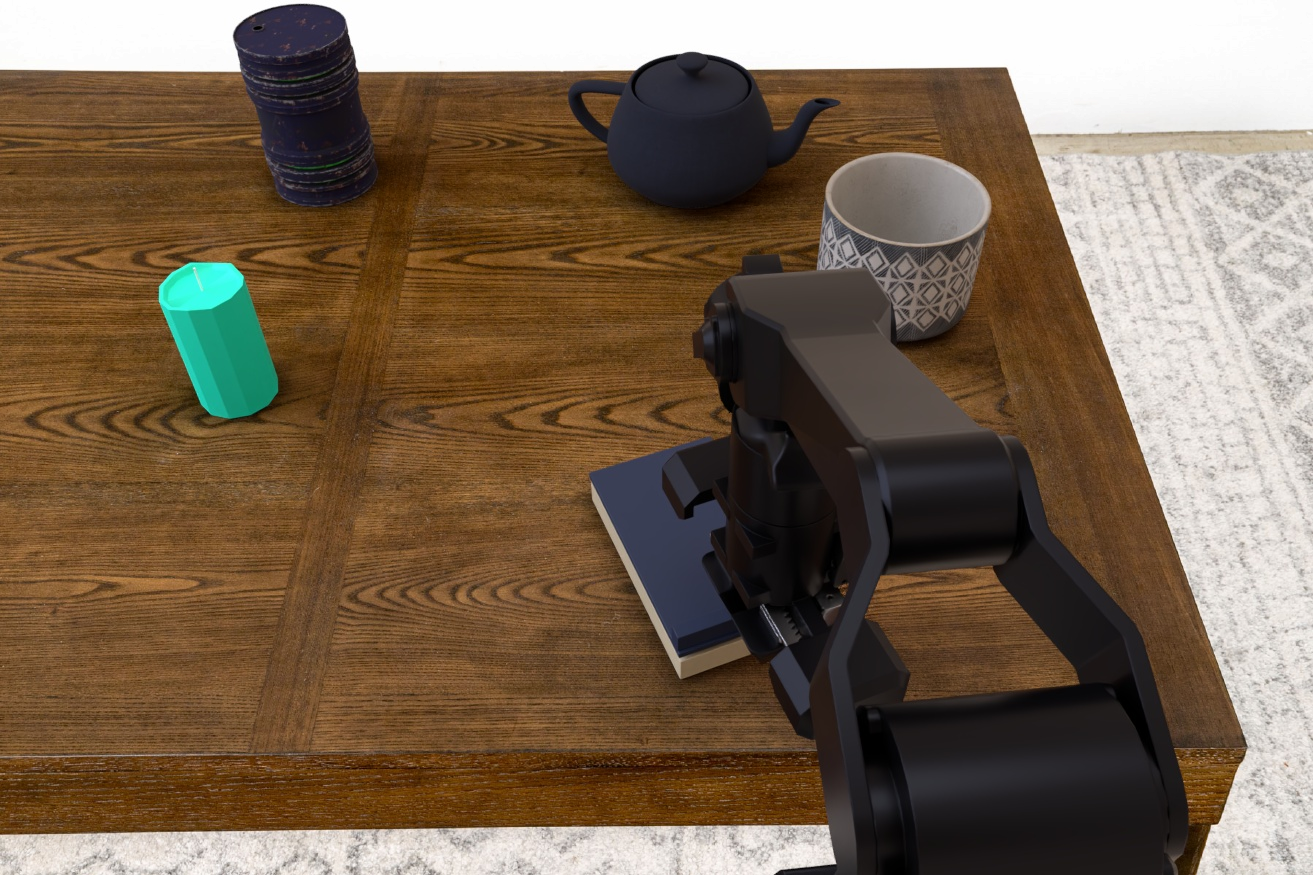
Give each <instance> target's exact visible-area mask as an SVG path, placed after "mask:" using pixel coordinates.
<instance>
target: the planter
mask: <svg viewBox="0 0 1313 875" xmlns="http://www.w3.org/2000/svg"><path fill="white" fill-rule="evenodd" d="M991 212H992V200H991V196H990V194H989V192H988V190H987V188H986V187H985V185H984V183H982V182H981V181H980V180H979V179H978V178H977V177H976V176H975V175H973V174H972V173H971V172H970V171H968V170H966V169H965V168H963V167H961V166H959V165H957V164H955V163H952V162H951V161H948V160H945V159H942V158H939V157H935V156H931V155H928V154H922V153H915V152H903V151H901V152H900V151H898V152H896V151H895V152H893V151H892V152H880V153H874V154H870V155H864V156H861V157H858V158H856V159H853V160H850V161H849V162H847V163H845V164H843V165H842V166H840V167H839V168H838V169H837V170H836V171H835V172H834V173H833V174H831V177H830V178H829V179H828V181H827V183H826V186H825V193H824V203H823V210H822V218H821V220H822V221H821V226H820V227H821V228H820V236H819V237H820V238H819V246H818V254H817V255H818V256H817V264H816V270H830V269H844V268H859V267H862V268H867V269H868V270H869V271H870V272H871V273H872V274H873V276H874V277H875V278H876V280H877V281H878V283H879V284H880V286H881V287H882V289H883V290H884V291H885V292H887V293H888V294H889V297H890V299H891V301H892V304H893V308H894V312H895V319H896V329H897V343H898V342H900V343H901V342H918V341H923V340H927V339H931V338H934V337H937V336H939V335H941V334H944V333H945V332H948V331H949V330H951V329H952V328H953V327H955V326H956V325H957V324H958V323H959V322H960V321H961V320H962V318H963V317H964V316H965V315H966V313H967V311H968V308H969V305H970V301H971V297H972V292H973V288H974V285H975V279H976V276H977V271H978V268H979V263H980V259H981V255H982V250H983V246H984V242H985V238H986V235H987V234H986V233H987V230H988V226H989V221H990V217H991Z"/></svg>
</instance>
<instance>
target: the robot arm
mask: <svg viewBox="0 0 1313 875" xmlns="http://www.w3.org/2000/svg"><path fill="white" fill-rule="evenodd" d="M702 312H703V313H702V314H703V323H702V324H701V326H700V327H699V328H697V330H696V331H694V332H692V333H691V339H692V354H693V359H701V360H702V361H703V362H704V364H705V368H706V370H707V372H708V373H709V374H710V375H711V376H712V378H713V379H714V380H715V381H716V384H717V389H718V395H719V399H720V401H721V403H722V405H723V407H724V409H725V410H727V412H728V413H730V414H731V420H730V435H726V436H723V437H722V436H721V437H719V438H716V439H712V440H713V441H709V442H706V443H703V444H699V445H696V446H693V447H690V448H686V449H683V450H680V451H676V452H675V453H674V454H673V456H672V457H671V458H670V459H669V460H668V461H667V462H666V463H665V464H664V466H663V467H662V489H663V491H664V493H665V495H666V496H667V498H668V500H669V502H670V504H671V505H672V507H673V509H674V511H675V513H676V515H677V516H678V518H679V519H682V520H686V519H689V518H692V517H694V506H697V505H700V504H703V503H706V502H709V501H712V500H717V502H718V503H719V505H720V507H721V509H722V510H723V512H724V514H725V515H726V526H724V527H721V528H718V529H715V530H712V531H711V533H710V543H711V544H712V546H713V548H714V551H711V552H708V553H706V554H705V555H704V556H703V557H702V565H703V567H704V569H705V571H706V573H707V575H708V577H709V578H710V580H711V582H712V584H713V586H714V588H715V589H716V591H717V593H718V595H719V597H720V598H721V600H722V602H723V603H724V605H725V607H726V608H727V610H728V611H729V613H730V614H731V619H732V621H733V623H734V624H735V626H736V628H737V630H738V632H739V634H740V635H741V637H742V639H743V641H744V643H745V645H746V646H747V648H748V650H749V652H750V653H751V654H750V655H751V656H752V657H754V658H756V660H757V661H758V663H759V664H760V665H765V664H768V663H769V664H768V671H767V673H768V677H769V680H770V684H771V687H772V691H773V694H774V696H775V697H776V700H777V701H778V703H779V705H780V707H781V709H782V711H783V712H784V714H785V716H786V718H787V719H788V720H787V721H789V724H790V725H791V727H792V729H793V731H794V732H795V734H796V736H799V737H801V738H804V739H807V740H810V741H814V742H815V749H816V753H817V754H816V755H817V760H818V766H819V774H820V779H821V786H822V793H823V800H824V806H825V812H826V817H827V818H826V819H827V824H828V831H829V836H830V842H831V845H832V846H831V847H832V851H833V857H834V861H835V863H832V864H822V865H821V864H820V865H812V866H811V865H810V866H803V867H793V868H784V869H783V868H782V869H779V870H778V871H776V872H775V873H774V874H773V875H1179V870H1178V866H1177V864H1176V863H1175V861H1177V859H1178V858H1180V857H1181V856H1183V855H1184V852H1185V849H1186V846H1187V843H1188V839H1189V834H1190V833H1189V832H1190V823H1189V822H1190V821H1189V820H1190V819H1189V818H1190V808H1189V804H1188V798H1187V792H1186V788H1185V783H1184V777H1183V774H1182V770H1181V768H1180V764H1179V761H1178V757H1177V754H1176V750H1175V746H1174V743H1173V739H1172V735H1171V732H1170V729H1169V725H1168V721H1167V718H1166V714H1165V711H1164V707H1163V703H1162V701H1161V697H1160V693H1159V690H1158V687H1157V683H1156V679H1155V676H1154V672H1153V669H1152V665H1151V662H1150V658H1149V655H1148V650H1147V647H1146V644H1145V640H1144V637H1143V635H1142V634H1141V631H1140V630H1139V628H1138V626H1137V624H1136V623H1135V622H1134V621H1133V620H1132V618H1131V617H1130V616H1129V615H1128V614H1127V613H1126V612H1125V611H1124V610H1123V609H1122V607H1121V606H1120V605H1119V604H1118V603H1117V602H1116V601H1115V600H1114V598H1112V596H1111V595H1110V594H1109V593H1108V592H1107V591H1106V590H1105V588H1104V587H1103V586H1102V585H1101V584H1100V583H1099V582H1098V581H1097V580H1096V579H1095V577H1094V576H1092V574H1091V573H1090V572H1089V571H1088V570H1087V569H1086V568H1085V567H1084V566H1083V564H1082V563H1081V562H1080V561H1079V560H1078V559H1077V558H1076V557H1075V555H1073V554H1072V552H1071V551H1070V550H1069V549H1068V548H1067V547H1066V546H1065V545H1064V544H1063V542H1062V541H1061V540H1060V539H1059V538H1058V537H1057V536H1056V535H1055V533H1054V532H1053V531H1052V530H1051V528H1050V526H1049V522H1048V518H1047V514H1046V510H1045V506H1044V503H1043V498H1042V495H1041V490H1040V487H1039V484H1038V480H1037V476H1036V471H1035V468H1034V466H1033V463H1032V460H1031V458H1030V455H1029V452H1028V450H1027V448H1026V447H1025V446H1024V444H1023V442H1022V441H1021V440H1020V438H1019V437H1017V436H1014V435H1012V434H1009V433H1008V434H998V433H997V432H996V431H995V430H993V429H991V428H990V427H983V426H980V425H979V424H978V423H977V422H976V421H975V420H974V419H973V418H972V417H971V416H970V415H968V413H966V412H965V411H964V410H963V409H962V407H960V406H959V405H958V403H956V402H955V401H954V400H953V399H952V398H951V397H949V396H948V395H947V394H946V393H945V392H944V391H943V390H942V389H941V388H940V387H939V386H938V385H937V384H936V383H935V382H933V381H932V380H931V379H930V378H929V377H928V376H927V375H926V374H925V373H924V372H923V371H921V369H920V368H919V367H917V365H916V364H914V363H913V362H912V361H911V359H909V358H908V357H907V356H906V355H905V354H904V353H903V352H902V351H901V350H900V349H899V348H898V342H897V329H896V319H895V312H894V308H893V304H892V301H891V299H890V297H889V294H888V293H887V292H885V291H884V290H883V289H882V287H881V286H880V284H879V283H878V281H877V280H876V278H875V277H874V276H873V274H872V273H871V272H870V271H869V270H868V269H867V268H862V267H859V268H844V269H830V270H817V269H816V270H803V271H791V272H789V271H788V272H785V271H784V267H783V263H782V259H781V257H780V253H766V254H765V253H764V254H754V255H743V256H742V257H741V271H740V272H738V273H736V274H734V275H732V276H729V277H728V278H726V279H725V280H724V281H723V282H721V283H720V284H718V285H717V286H716V287H715V289H714V290H713V291H712V292H711V294H710V295H709V296H708V298H707V301H706V302H705V303H704V305H703V311H702ZM984 567H985V568H986V567H992V570H993V573H994V574H995V576H996V578H997V580H998V582H999V583H1000V584H1001V586H1003V588H1004V589H1005V590H1006V591H1007V593H1009V595H1010V596H1011V597H1012V598H1013V600H1015V602H1016V603H1017V604H1018V605H1019V606H1020V608H1022V610H1023V611H1024V612H1025V613H1026V614H1027V616H1029V618H1030V619H1031V620H1032V621H1033V622H1034V623H1035V625H1036V627H1038V628H1039V629H1040V630H1041V632H1043V634H1044V635H1045V637H1047V638H1048V639H1049V640H1050V642H1051V643H1052V644H1053V645H1054V646H1055V648H1056V649H1057V650H1058V651H1059V652H1060V653H1061V654H1062V655H1063V657H1064V658H1065V659H1066V660H1067V661H1068V663H1069V664H1070V665H1071V666H1072V667H1073V668H1074V670H1075V673H1076V677H1077V681H1078V683H1077V684H1069V685H1058V686H1048V687H1047V686H1046V687H1037V688H1027V689H1016V690H1006V691H997V692H996V691H995V692H984V693H983V692H982V693H973V694H963V695H953V696H943V697H933V698H923V699H910V700H905V698H906V693H907V689H908V686H909V683H910V680H911V675H912V673H911V672H910V670H909V668H908V667H907V665H906V664H905V662H904V660H903V659H902V658H901V656H900V654H899V653H898V651H897V650H896V648H895V647H894V646H893V644H892V642H891V641H890V639H889V638H888V636H887V634H886V633H885V632H884V630H883V628H882V626H880V624H879V622H878V621H874V620H873V619H869V618H866V616H867V612H868V610H869V607H870V604H871V602H872V599H873V596H874V594H875V592H876V589H877V587H878V584H879V582H880V579H881V577H883V576H885V577H886V576H892V575H893V576H894V575H905V574H916V573H917V574H918V573H929V572H939V571H950V570H952V571H953V570H962V569H974V568H975V569H976V568H984ZM845 585H848V587H847V589H846V592H845V594H843V592H842V591H841V590H840V587H843V586H845Z"/></svg>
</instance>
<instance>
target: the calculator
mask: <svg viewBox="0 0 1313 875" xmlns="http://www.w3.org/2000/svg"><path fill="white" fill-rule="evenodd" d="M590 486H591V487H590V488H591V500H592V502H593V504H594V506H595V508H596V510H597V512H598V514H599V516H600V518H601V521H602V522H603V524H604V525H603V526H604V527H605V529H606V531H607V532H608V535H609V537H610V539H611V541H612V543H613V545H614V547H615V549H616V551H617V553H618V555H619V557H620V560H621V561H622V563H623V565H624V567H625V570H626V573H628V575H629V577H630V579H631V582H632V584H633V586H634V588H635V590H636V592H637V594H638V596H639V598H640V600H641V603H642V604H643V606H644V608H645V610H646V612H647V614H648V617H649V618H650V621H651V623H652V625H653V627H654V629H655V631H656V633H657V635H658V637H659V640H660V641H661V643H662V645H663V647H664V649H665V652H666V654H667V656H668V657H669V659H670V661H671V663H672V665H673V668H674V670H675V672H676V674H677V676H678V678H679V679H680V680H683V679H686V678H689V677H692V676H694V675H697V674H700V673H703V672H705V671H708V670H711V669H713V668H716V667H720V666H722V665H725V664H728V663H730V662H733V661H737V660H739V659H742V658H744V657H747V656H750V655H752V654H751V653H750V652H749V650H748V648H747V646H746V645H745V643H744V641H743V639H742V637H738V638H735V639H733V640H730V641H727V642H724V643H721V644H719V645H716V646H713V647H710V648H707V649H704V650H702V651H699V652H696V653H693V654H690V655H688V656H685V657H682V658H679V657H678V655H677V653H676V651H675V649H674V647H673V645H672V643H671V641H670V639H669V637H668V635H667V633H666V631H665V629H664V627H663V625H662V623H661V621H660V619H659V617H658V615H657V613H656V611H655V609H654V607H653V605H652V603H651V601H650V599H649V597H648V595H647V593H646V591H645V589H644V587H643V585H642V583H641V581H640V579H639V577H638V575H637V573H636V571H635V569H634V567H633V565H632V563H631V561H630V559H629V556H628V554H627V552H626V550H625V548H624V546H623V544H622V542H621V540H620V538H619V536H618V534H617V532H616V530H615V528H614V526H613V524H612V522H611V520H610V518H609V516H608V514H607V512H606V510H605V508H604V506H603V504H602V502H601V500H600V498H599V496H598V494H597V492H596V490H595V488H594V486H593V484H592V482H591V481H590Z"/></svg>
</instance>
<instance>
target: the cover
mask: <svg viewBox="0 0 1313 875" xmlns="http://www.w3.org/2000/svg"><path fill="white" fill-rule="evenodd" d="M713 440H714V439H713V438H712V437H711V435H708V436H706V437H702V438H699V439H696V440H692V441H689V442H686V443H683V444H679V445H675V446H673V447H670V448H666V449H663V450H659V451H655V452H652V453H650V454H646V455H643V456H640V457H636V458H633V459H630V460H629V459H628V460H626V461H623V462H619V463H615V464H613V465H610V466H606V467H604V468H600V469H596V470H594V471H590V472H589V473H588V478H589V480H590V483H591V482H592V484H593V486H594V488H595V490H596V492H597V494H598V496H599V498H600V500H601V502H602V504H603V506H604V508H605V510H606V512H607V514H608V516H609V518H610V520H611V522H612V524H613V526H614V528H615V530H616V532H617V534H618V536H619V538H620V540H621V542H622V544H623V546H624V548H625V550H626V552H627V554H628V556H629V559H630V561H631V563H632V565H633V567H634V569H635V571H636V573H637V575H638V577H639V579H640V581H641V583H642V585H643V587H644V589H645V591H646V593H647V595H648V597H649V599H650V601H651V603H652V605H653V607H654V609H655V611H656V613H657V615H658V617H659V619H660V621H661V623H662V625H663V627H664V629H665V631H666V633H667V635H668V637H669V639H670V641H671V643H672V645H673V647H674V649H675V651H676V653H677V655H678V657H679V658H682V657H685V656H688V655H690V654H693V653H696V652H699V651H702V650H704V649H707V648H710V647H713V646H716V645H719V644H721V643H724V642H727V641H730V640H733V639H735V638H738V637H741V635H740V634H739V632H738V630H737V628H736V626H735V624H734V623H733V621H732V619H731V614H730V613H729V611H728V610H727V608H726V607H725V605H724V603H723V602H722V600H721V598H720V597H719V595H718V593H717V591H716V589H715V588H714V586H713V584H712V582H711V580H710V578H709V577H708V575H707V573H706V571H705V569H704V567H703V565H702V557H703V556H704V555H705V554H706V553H708V552H711V551H714V548H713V546H712V544H711V543H710V533H711V531H712V530H715V529H718V528H721V527H724V526H726V515H725V514H724V512H723V510H722V509H721V507H720V505H719V503H718V502H717V500H712V501H709V502H706V503H703V504H700V505H697V506H694V517H692V518H689V519H686V520H682V519H679V518H678V516H677V515H676V513H675V511H674V509H673V507H672V505H671V504H670V502H669V500H668V498H667V496H666V495H665V493H664V491H663V489H662V467H663V466H664V464H665V463H666V462H667V461H668V460H669V459H670V458H671V457H672V456H673V454H674V453H675V452H676V451H680V450H683V449H686V448H690V447H693V446H696V445H699V444H703V443H706V442H709V441H713Z"/></svg>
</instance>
